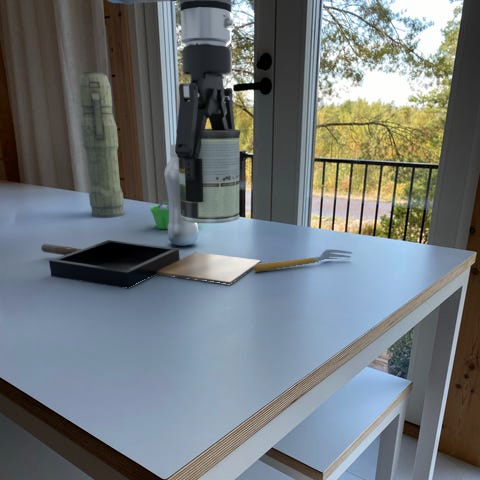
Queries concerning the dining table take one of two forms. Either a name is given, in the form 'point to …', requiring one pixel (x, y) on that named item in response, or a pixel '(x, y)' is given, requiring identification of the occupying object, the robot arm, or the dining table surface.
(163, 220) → the fruit basket
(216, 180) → the coffee can
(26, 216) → the dining table surface
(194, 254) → the cardboard square
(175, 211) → the plastic bottle
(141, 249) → the pan
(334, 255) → the fork
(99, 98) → the thermos
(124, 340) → the dining table surface
